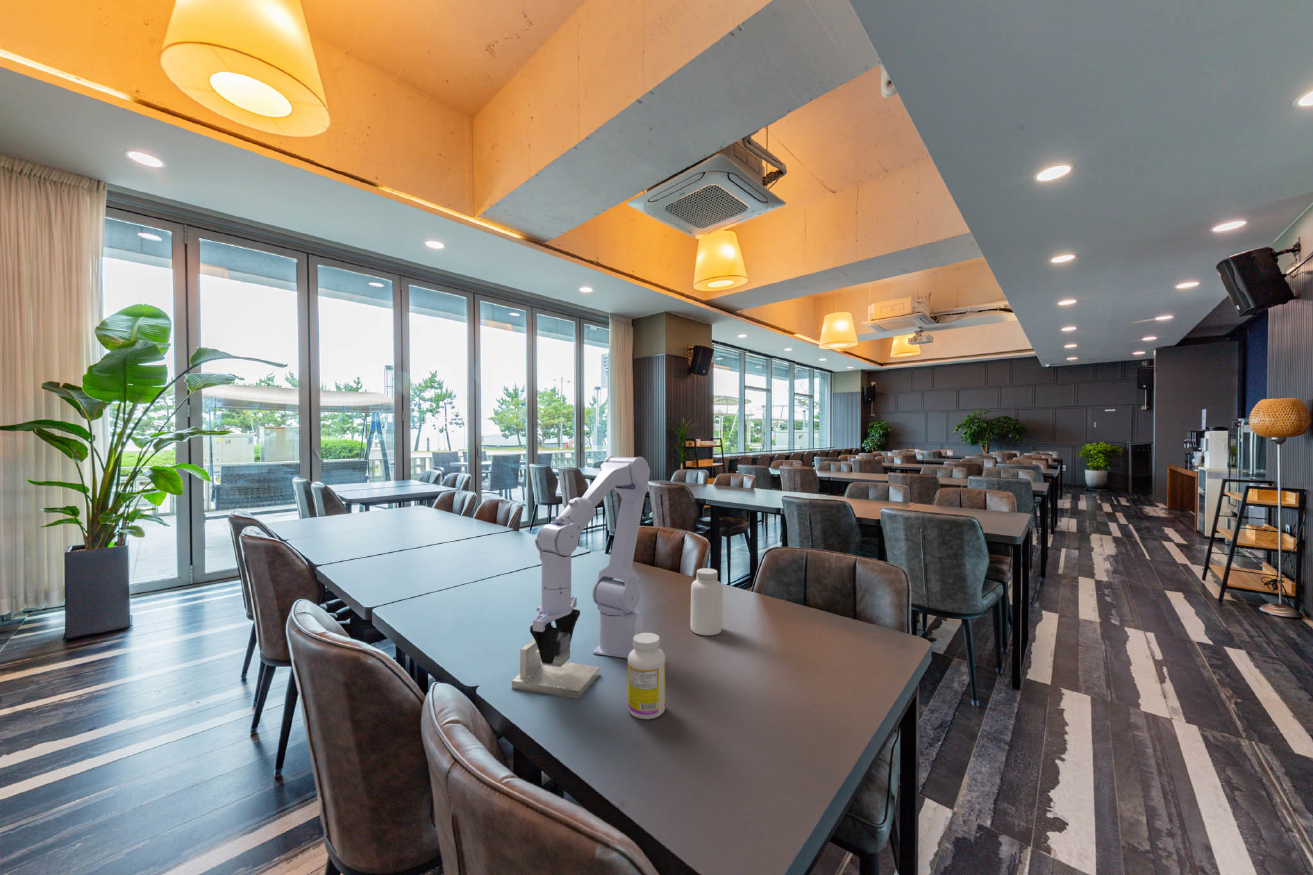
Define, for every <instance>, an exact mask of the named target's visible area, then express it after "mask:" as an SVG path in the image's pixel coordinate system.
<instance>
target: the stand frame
mask: <svg viewBox="0 0 1313 875" xmlns="http://www.w3.org/2000/svg"><path fill="white" fill-rule="evenodd" d="M519 653H520V654H519V656H520V657H519V658H520V659H519V660H520V662H519V663H520V665H519V667H520V668H519V674H517V675H516V676H515V677H514V678H513V679H512V680H511V689H513V690H518V691H519V690H520V691H525V692H530V693H531V692H532V693H538V694H543V695H544V694H545V695H550V696H555V697H556V696H557V697H562V698H569V699H574V700H579V699H580V698H581V697H582V696H583V695H584V694H585V692H587V690H588V689H589V688H590V686H592V684H593V683H594V682H595V681H596V680H597V678H598V677H599V676H600V674H601V671H600V668H601V667H600V666H598V665H597V666H596V665H590V664H582V663H575V662H570V661H569V662H568V661H566V662H565V663H564V664H563V665H562V666H561V667H556V666H549V665H542V661H541V657H540V653H539V650H538V646H537V643H536V641H535V639H534V638H533V639H532V640H530V641H529V642H528V643H526V645H523V647H521V648H520V650H519Z"/></svg>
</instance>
